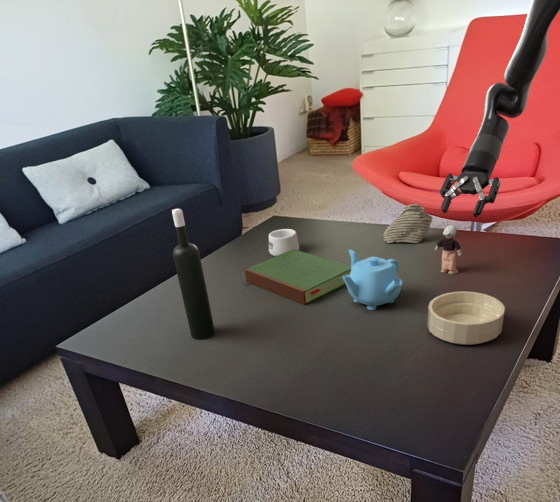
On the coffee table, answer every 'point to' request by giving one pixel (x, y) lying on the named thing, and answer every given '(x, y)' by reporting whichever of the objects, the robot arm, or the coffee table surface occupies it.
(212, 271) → the coffee table surface
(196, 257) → the wine bottle
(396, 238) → the fossil tooth
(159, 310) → the coffee table surface
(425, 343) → the coffee table surface
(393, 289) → the teapot
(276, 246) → the mug
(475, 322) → the bowl
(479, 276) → the coffee table surface
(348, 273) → the hardcover book
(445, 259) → the grandmother figurine
